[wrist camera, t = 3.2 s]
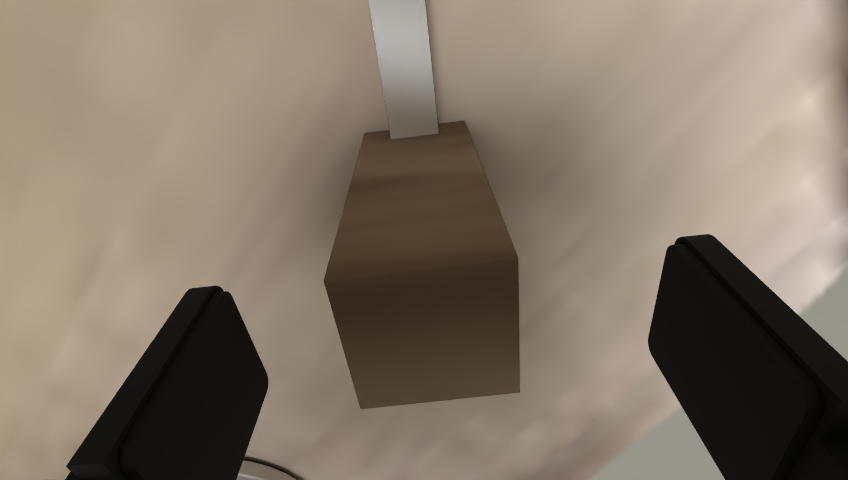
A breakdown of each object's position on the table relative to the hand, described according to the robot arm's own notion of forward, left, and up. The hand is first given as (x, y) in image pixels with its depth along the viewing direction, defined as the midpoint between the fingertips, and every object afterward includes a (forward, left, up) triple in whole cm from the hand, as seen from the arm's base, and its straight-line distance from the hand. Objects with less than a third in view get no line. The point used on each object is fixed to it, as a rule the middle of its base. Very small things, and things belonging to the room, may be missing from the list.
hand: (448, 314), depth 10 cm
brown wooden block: (+5, 0, -10) cm, 11 cm away
